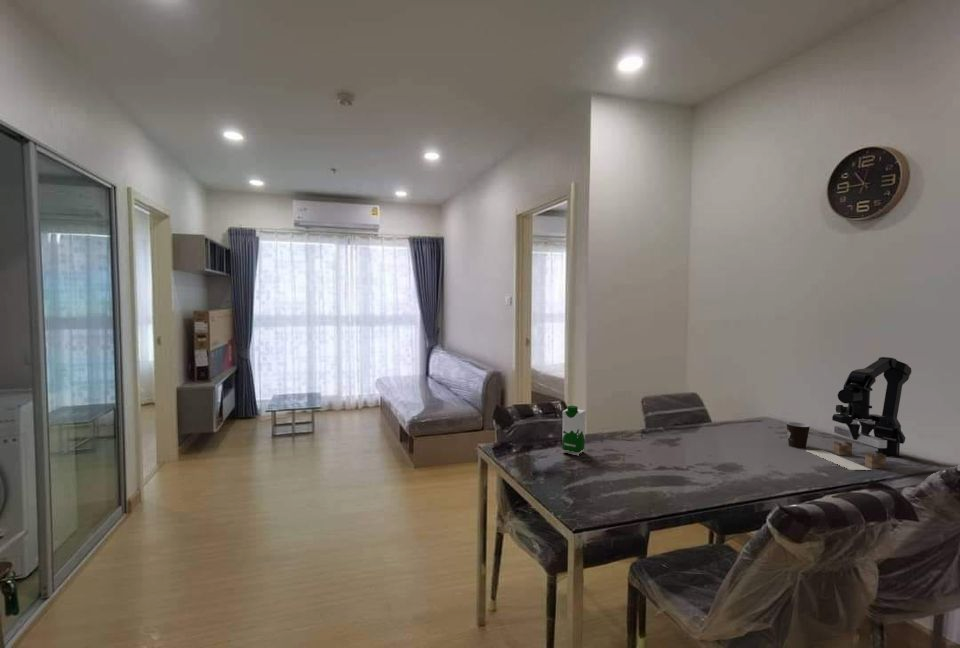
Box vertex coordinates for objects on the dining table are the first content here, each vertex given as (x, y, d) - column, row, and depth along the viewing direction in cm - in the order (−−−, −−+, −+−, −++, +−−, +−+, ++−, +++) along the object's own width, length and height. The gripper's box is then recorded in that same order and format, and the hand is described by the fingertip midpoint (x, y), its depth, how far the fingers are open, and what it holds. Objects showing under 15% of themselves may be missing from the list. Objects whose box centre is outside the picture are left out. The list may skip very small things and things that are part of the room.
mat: (823, 451, 200) (823, 450, 200) (871, 470, 176) (871, 469, 176) (805, 451, 200) (805, 450, 200) (850, 470, 176) (850, 469, 176)
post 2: (878, 465, 181) (879, 452, 181) (885, 468, 178) (886, 455, 178) (865, 465, 181) (865, 452, 181) (871, 468, 178) (872, 455, 178)
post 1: (846, 453, 197) (846, 441, 197) (851, 455, 194) (852, 443, 194) (833, 453, 197) (833, 441, 197) (839, 455, 194) (839, 443, 194)
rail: (841, 432, 199) (841, 425, 198) (886, 448, 177) (887, 440, 176) (834, 432, 198) (834, 425, 198) (879, 448, 176) (879, 440, 176)
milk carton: (559, 453, 191) (560, 406, 190) (567, 448, 199) (568, 402, 198) (579, 457, 186) (580, 409, 186) (587, 452, 194) (588, 405, 193)
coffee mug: (808, 450, 200) (809, 427, 200) (785, 446, 206) (785, 424, 205) (809, 444, 210) (810, 422, 209) (786, 441, 215) (787, 419, 215)
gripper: (866, 398, 195) (864, 434, 196) (822, 397, 195) (821, 434, 195) (889, 403, 184) (888, 442, 185) (843, 403, 184) (842, 441, 184)
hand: (858, 439), depth 188 cm, fingers closed on rail, 3 cm apart
